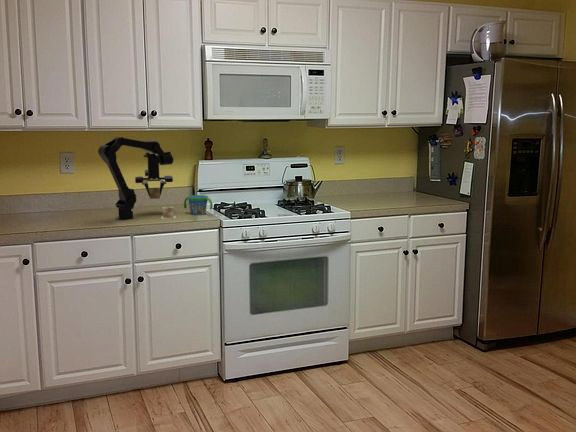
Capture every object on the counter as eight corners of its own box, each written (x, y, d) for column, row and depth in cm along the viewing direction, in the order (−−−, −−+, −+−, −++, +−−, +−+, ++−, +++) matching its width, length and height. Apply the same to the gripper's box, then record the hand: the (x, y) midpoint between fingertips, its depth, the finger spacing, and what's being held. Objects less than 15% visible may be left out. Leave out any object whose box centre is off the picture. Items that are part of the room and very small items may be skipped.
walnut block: (149, 198, 312) (149, 189, 311) (149, 197, 317) (149, 187, 316) (159, 198, 313) (159, 188, 313) (159, 197, 318) (159, 187, 317)
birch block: (163, 218, 306) (163, 208, 305) (162, 216, 310) (162, 206, 309) (173, 217, 307) (173, 208, 306) (172, 216, 312) (172, 206, 311)
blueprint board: (150, 221, 302) (150, 219, 302) (149, 215, 321) (149, 213, 321) (183, 220, 306) (183, 218, 306) (179, 213, 325) (179, 211, 325)
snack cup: (216, 214, 322) (215, 195, 320) (206, 218, 313) (205, 198, 311) (190, 212, 328) (190, 194, 326) (180, 216, 319) (179, 196, 317)
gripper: (170, 164, 322) (171, 193, 325) (134, 164, 318) (135, 194, 320) (172, 165, 312) (173, 196, 314) (134, 166, 307) (136, 197, 310)
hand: (154, 196), depth 315 cm, fingers closed on walnut block, 5 cm apart
